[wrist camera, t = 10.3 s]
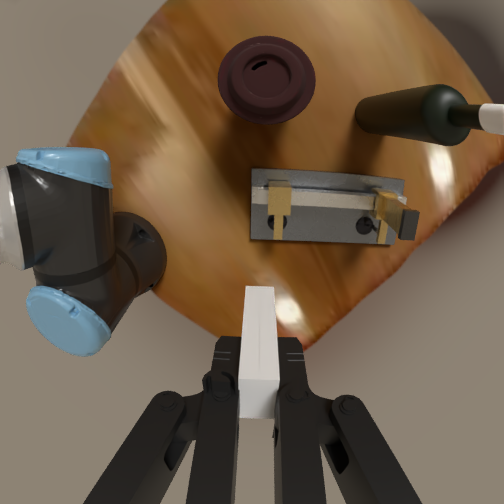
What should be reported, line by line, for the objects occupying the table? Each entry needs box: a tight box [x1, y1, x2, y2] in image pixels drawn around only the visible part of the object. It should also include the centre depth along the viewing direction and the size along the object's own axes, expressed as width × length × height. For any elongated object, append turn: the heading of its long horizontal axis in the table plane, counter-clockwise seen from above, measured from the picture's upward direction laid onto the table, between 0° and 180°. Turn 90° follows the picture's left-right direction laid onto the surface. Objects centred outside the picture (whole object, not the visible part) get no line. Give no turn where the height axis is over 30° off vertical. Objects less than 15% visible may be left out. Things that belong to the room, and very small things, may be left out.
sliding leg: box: [369, 188, 420, 244], centre depth 37 cm, size 3×8×12 cm, turn 179°
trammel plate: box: [251, 168, 407, 245], centre depth 42 cm, size 24×11×6 cm, turn 89°
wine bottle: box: [355, 84, 504, 146], centre depth 24 cm, size 6×6×30 cm
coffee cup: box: [218, 36, 316, 125], centre depth 31 cm, size 10×10×15 cm
